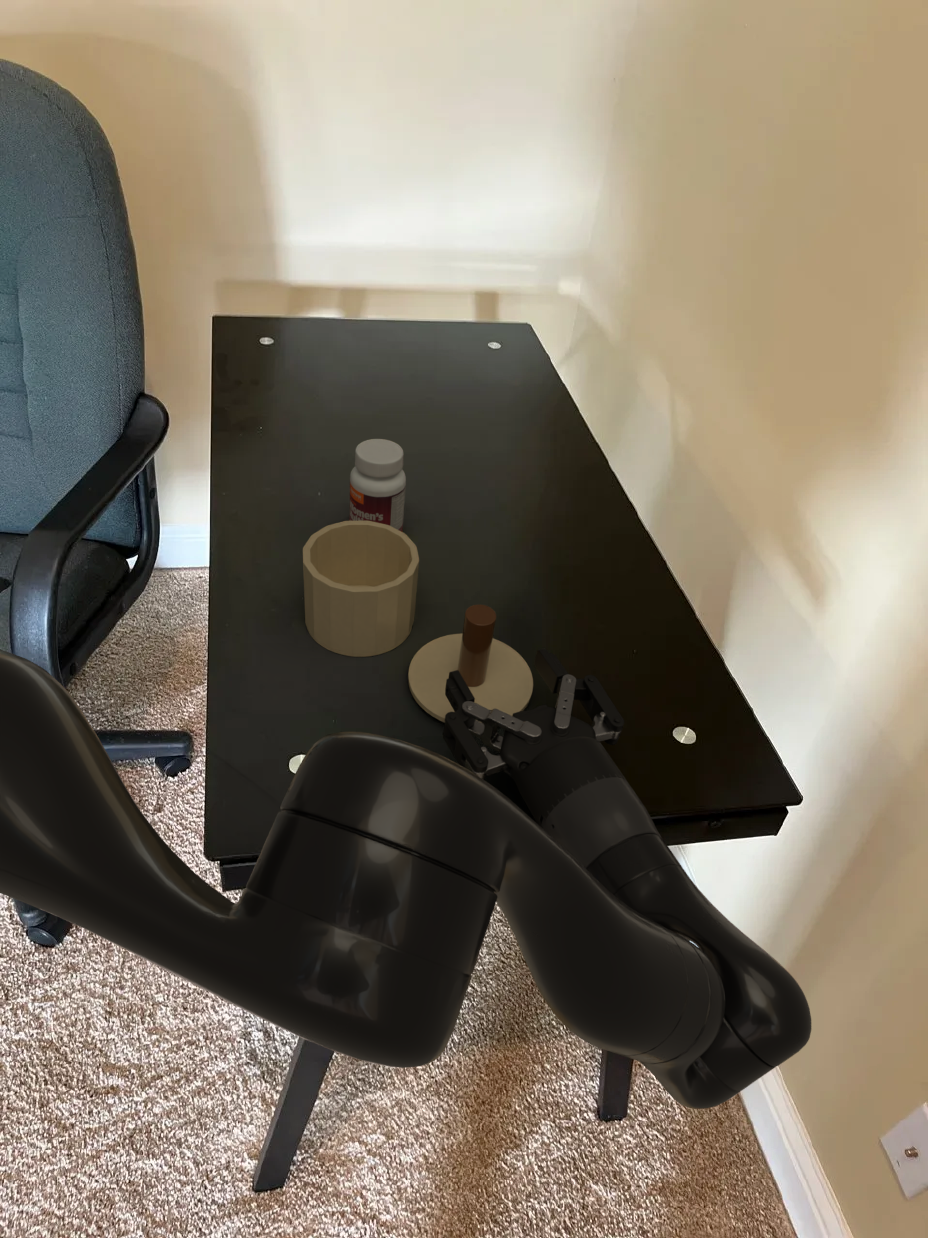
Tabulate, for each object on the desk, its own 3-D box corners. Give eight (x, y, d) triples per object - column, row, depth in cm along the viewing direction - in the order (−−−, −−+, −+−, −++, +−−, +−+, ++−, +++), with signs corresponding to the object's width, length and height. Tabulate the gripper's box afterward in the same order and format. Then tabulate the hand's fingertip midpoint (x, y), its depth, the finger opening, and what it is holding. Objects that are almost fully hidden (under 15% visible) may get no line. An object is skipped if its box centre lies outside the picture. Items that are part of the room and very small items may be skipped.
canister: (365, 673, 79) (367, 608, 74) (282, 621, 83) (278, 555, 78) (434, 616, 86) (441, 552, 81) (354, 571, 91) (355, 507, 85)
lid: (485, 754, 74) (498, 684, 67) (381, 689, 78) (385, 617, 72) (554, 680, 81) (572, 611, 75) (456, 625, 86) (465, 555, 80)
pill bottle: (339, 542, 94) (339, 455, 86) (363, 514, 98) (365, 430, 91) (388, 558, 93) (393, 472, 85) (410, 529, 97) (416, 445, 90)
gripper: (679, 757, 62) (573, 618, 73) (512, 812, 57) (424, 654, 68) (653, 814, 67) (558, 676, 78) (498, 869, 62) (418, 714, 73)
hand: (496, 666), depth 73 cm, fingers open, 8 cm apart
